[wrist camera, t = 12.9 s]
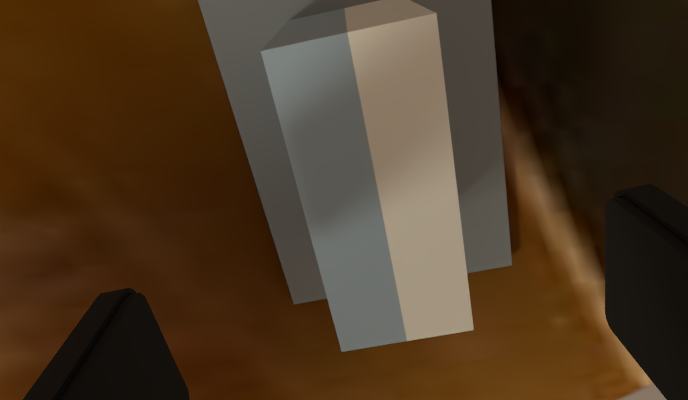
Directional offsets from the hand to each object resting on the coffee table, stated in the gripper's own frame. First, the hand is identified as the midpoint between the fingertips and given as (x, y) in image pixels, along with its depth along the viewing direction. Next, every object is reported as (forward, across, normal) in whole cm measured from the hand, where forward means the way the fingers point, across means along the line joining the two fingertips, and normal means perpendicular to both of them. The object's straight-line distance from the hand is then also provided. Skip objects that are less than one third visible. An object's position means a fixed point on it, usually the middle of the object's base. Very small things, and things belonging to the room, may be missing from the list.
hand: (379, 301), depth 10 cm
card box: (+10, -1, 0) cm, 10 cm away
